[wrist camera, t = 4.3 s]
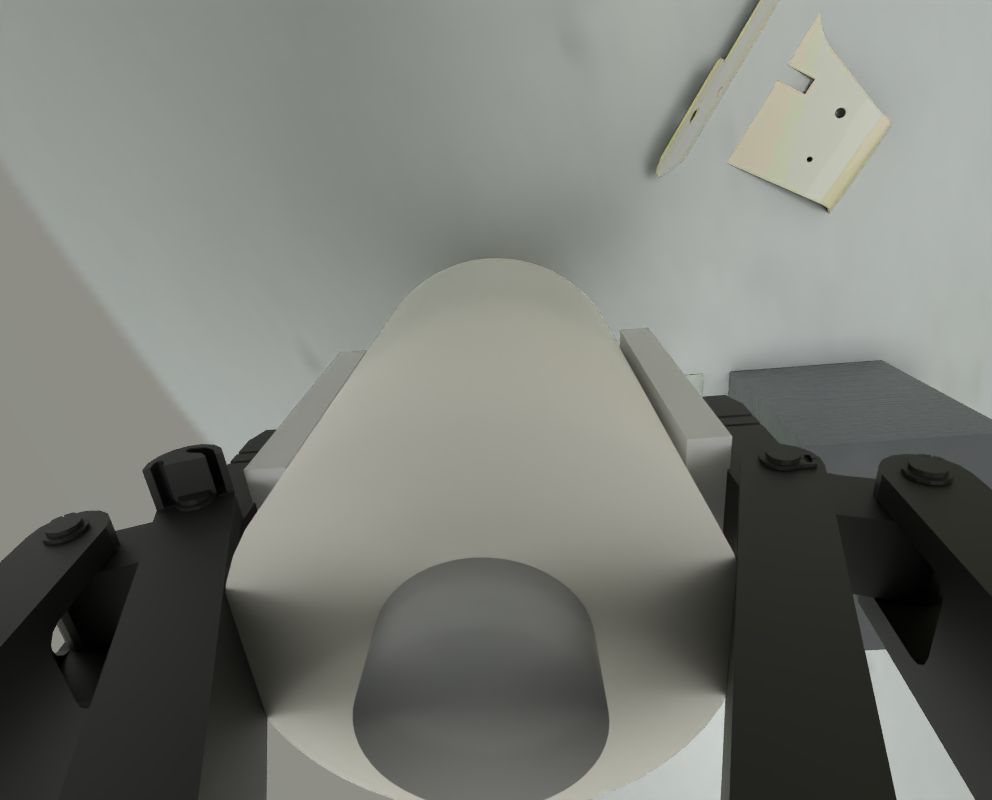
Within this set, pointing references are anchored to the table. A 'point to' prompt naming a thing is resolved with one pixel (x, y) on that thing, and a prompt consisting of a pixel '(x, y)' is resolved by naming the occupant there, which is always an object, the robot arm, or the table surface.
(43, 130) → the table surface
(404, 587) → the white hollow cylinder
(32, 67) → the table surface
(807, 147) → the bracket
